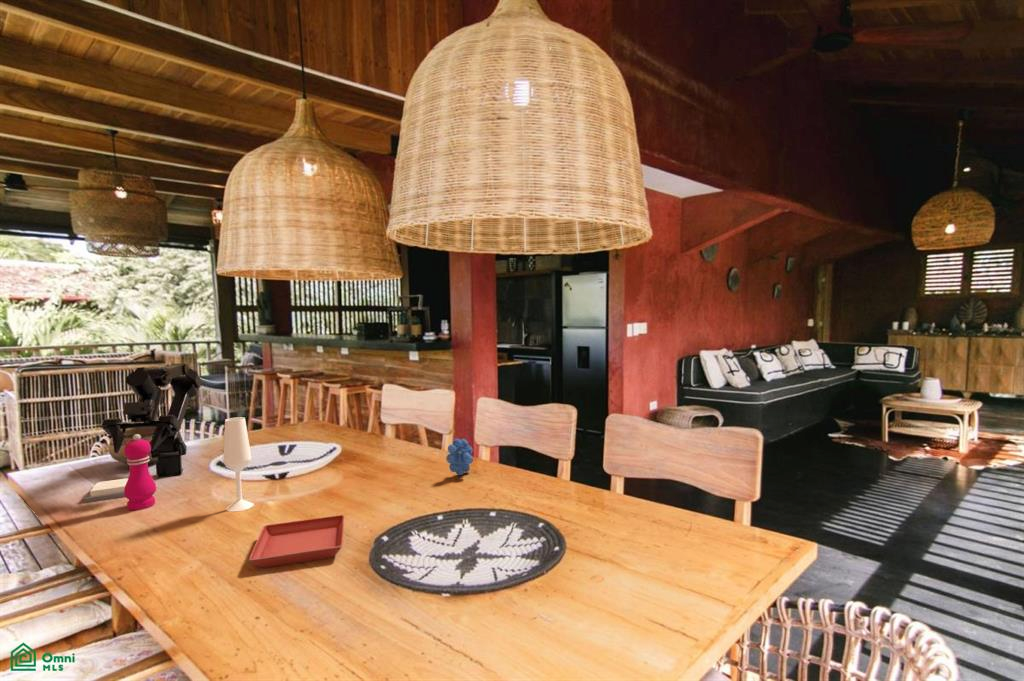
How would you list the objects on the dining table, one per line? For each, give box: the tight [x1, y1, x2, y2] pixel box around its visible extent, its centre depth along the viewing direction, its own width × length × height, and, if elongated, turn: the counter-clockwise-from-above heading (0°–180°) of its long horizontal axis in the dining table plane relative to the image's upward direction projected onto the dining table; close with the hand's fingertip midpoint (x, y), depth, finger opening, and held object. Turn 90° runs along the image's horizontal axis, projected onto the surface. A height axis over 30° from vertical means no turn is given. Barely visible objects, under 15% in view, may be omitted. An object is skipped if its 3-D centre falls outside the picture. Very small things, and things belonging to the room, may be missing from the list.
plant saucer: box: [248, 514, 345, 568], centre depth 117 cm, size 18×18×3 cm
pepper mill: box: [124, 434, 157, 511], centre depth 144 cm, size 7×7×20 cm
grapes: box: [445, 437, 474, 476], centre depth 164 cm, size 12×7×12 cm, turn 145°
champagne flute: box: [222, 416, 254, 513], centre depth 142 cm, size 7×7×24 cm
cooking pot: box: [107, 427, 158, 466], centre depth 186 cm, size 25×19×12 cm
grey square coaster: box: [82, 477, 129, 504], centre depth 155 cm, size 12×11×3 cm
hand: (134, 451), depth 150 cm, fingers open, 9 cm apart
